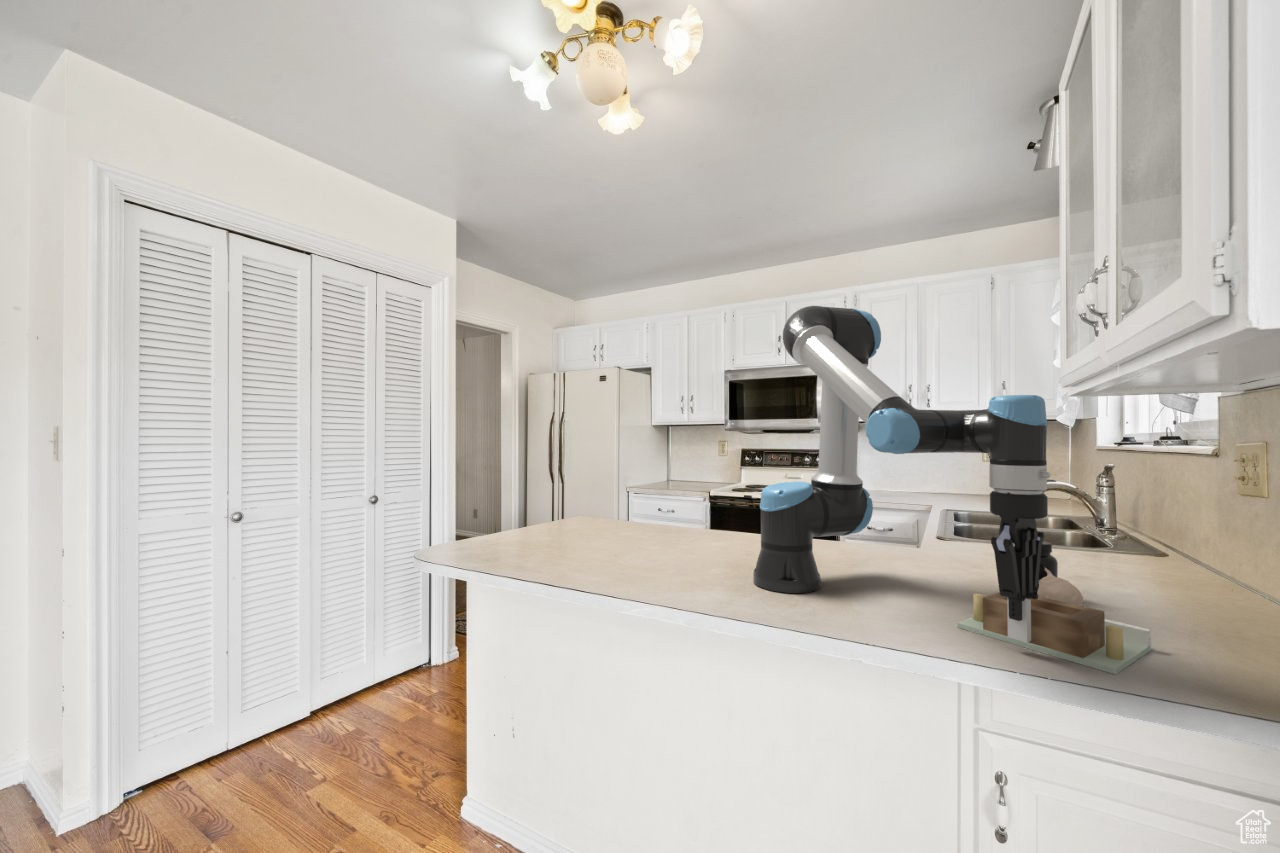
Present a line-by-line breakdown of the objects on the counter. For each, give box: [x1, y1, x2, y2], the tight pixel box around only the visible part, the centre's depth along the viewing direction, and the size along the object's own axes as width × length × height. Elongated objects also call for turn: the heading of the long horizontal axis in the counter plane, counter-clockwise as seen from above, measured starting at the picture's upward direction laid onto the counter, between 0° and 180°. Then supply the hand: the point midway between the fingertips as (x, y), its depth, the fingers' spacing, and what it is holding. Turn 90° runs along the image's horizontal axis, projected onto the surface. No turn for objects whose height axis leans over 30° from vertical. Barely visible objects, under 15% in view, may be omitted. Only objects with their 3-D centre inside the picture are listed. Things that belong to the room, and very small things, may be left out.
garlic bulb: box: [1037, 568, 1084, 606], centre depth 103 cm, size 7×6×8 cm
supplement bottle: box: [1033, 540, 1059, 595], centre depth 111 cm, size 7×7×12 cm
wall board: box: [956, 593, 1152, 675], centre depth 90 cm, size 22×16×5 cm
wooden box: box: [983, 591, 1106, 658], centre depth 88 cm, size 14×9×6 cm, turn 33°
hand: (1019, 638), depth 84 cm, fingers closed
